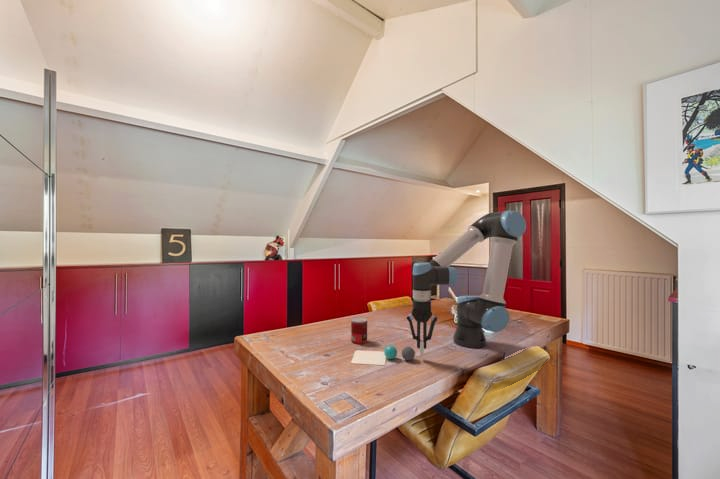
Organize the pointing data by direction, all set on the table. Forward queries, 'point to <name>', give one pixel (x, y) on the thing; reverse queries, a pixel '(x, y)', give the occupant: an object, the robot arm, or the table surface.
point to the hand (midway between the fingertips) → (421, 355)
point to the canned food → (359, 330)
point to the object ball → (390, 352)
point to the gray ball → (408, 353)
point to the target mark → (369, 357)
